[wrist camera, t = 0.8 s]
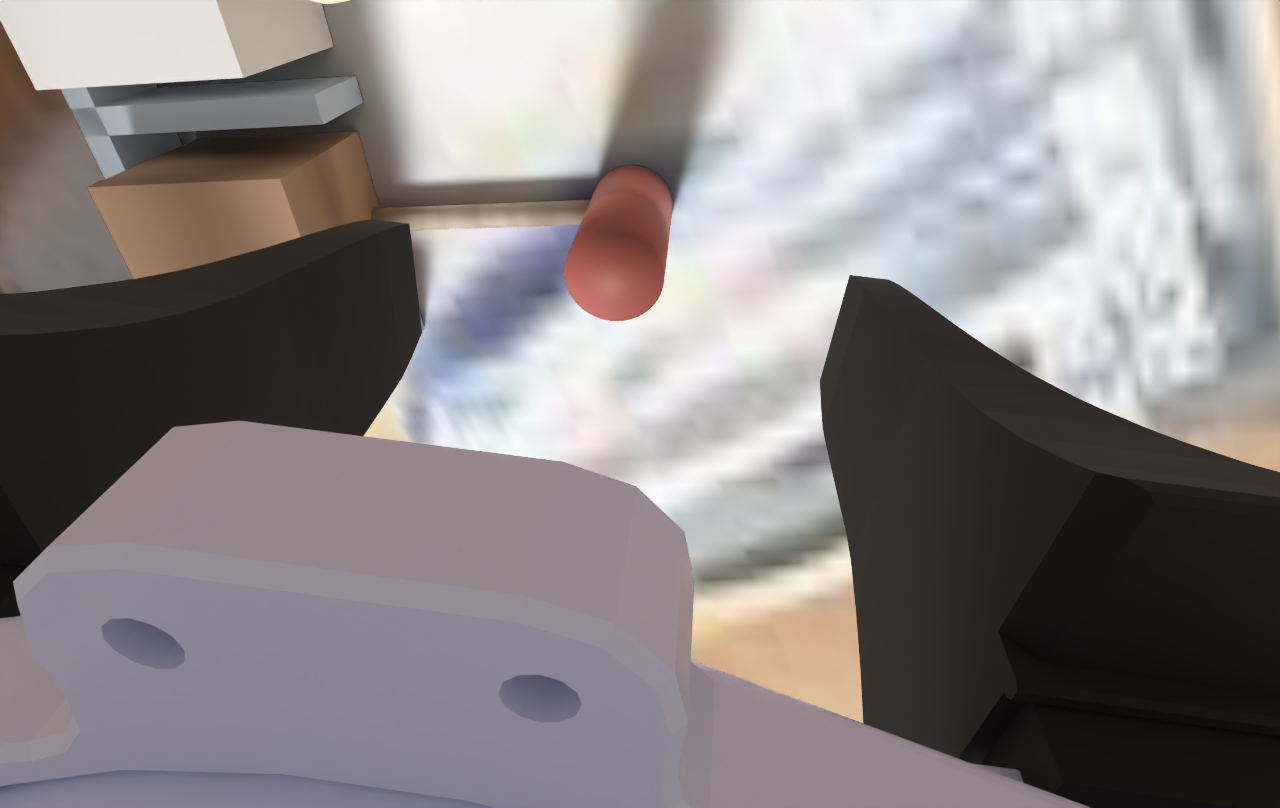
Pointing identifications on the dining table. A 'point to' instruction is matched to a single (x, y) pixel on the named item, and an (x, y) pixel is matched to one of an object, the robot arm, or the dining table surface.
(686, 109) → the dining table surface
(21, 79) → the dining table surface
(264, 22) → the white block with peg
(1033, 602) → the robot arm
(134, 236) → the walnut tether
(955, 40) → the dining table surface
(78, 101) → the lane rack
